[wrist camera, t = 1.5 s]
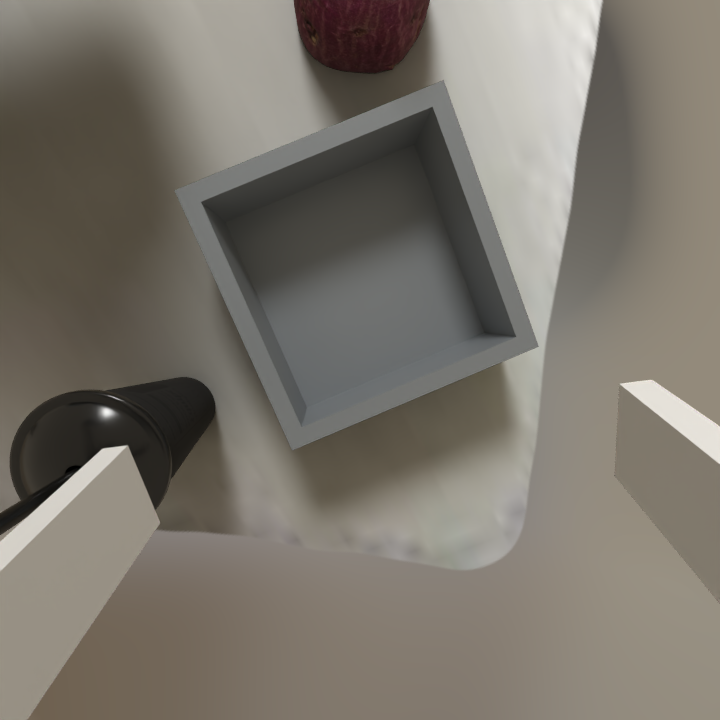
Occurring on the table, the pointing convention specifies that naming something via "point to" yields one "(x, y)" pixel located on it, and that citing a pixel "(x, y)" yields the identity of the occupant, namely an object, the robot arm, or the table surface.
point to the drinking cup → (107, 437)
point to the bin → (361, 265)
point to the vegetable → (360, 31)
